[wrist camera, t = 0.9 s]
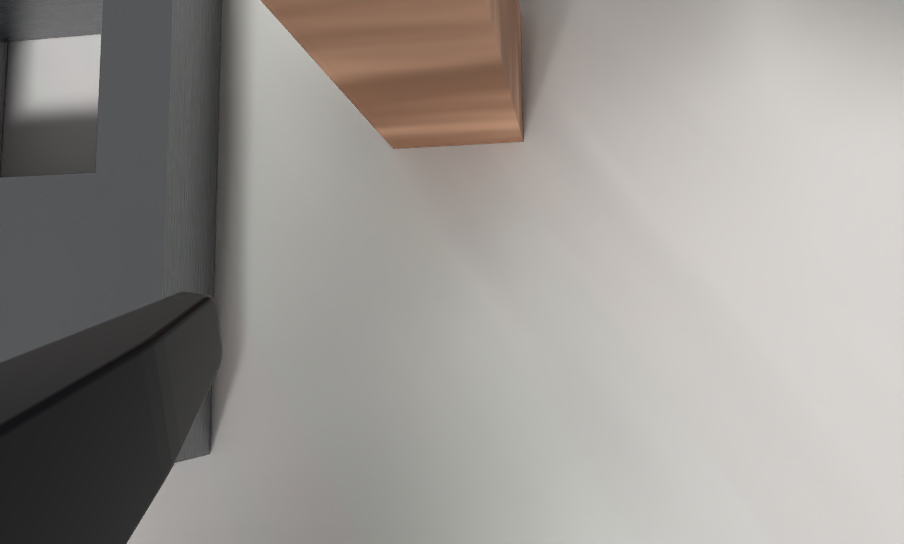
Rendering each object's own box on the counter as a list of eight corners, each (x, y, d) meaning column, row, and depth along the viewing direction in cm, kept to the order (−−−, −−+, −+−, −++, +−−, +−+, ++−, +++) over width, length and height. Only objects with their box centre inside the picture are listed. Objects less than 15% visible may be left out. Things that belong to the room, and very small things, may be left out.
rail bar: (209, 454, 24) (156, 467, 21) (-77, 450, 25) (-163, 462, 22) (222, -41, 25) (175, -93, 22) (-45, -14, 27) (-121, -60, 24)
